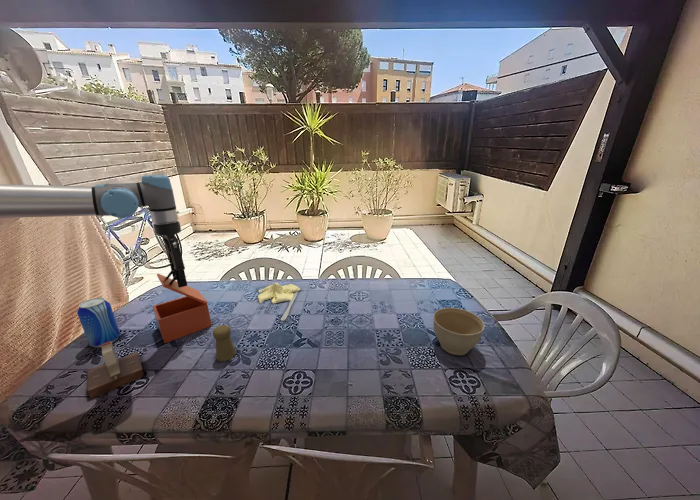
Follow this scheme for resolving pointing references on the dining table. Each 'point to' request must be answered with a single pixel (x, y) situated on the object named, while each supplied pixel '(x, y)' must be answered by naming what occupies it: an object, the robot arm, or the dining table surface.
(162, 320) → the orange box
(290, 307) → the butter knife
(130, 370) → the brown flat block
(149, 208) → the robot arm
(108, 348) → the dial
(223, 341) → the cork
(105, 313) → the beer can
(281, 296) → the cloth
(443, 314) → the planter bowl
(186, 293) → the box lid
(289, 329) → the dining table surface
